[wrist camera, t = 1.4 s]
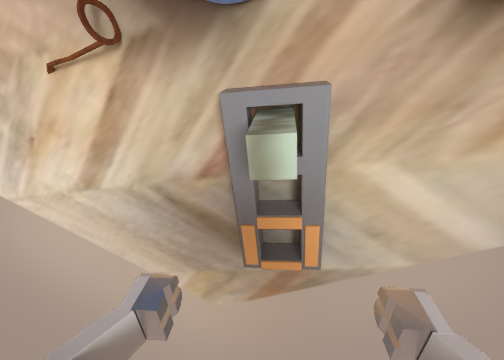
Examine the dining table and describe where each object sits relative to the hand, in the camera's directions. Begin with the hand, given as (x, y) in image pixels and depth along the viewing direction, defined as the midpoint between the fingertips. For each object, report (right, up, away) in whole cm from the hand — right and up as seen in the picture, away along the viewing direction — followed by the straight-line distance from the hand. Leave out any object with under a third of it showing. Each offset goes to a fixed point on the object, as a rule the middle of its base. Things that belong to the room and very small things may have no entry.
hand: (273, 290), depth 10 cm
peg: (+2, +12, +23) cm, 26 cm away
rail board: (+3, +4, +27) cm, 27 cm away
